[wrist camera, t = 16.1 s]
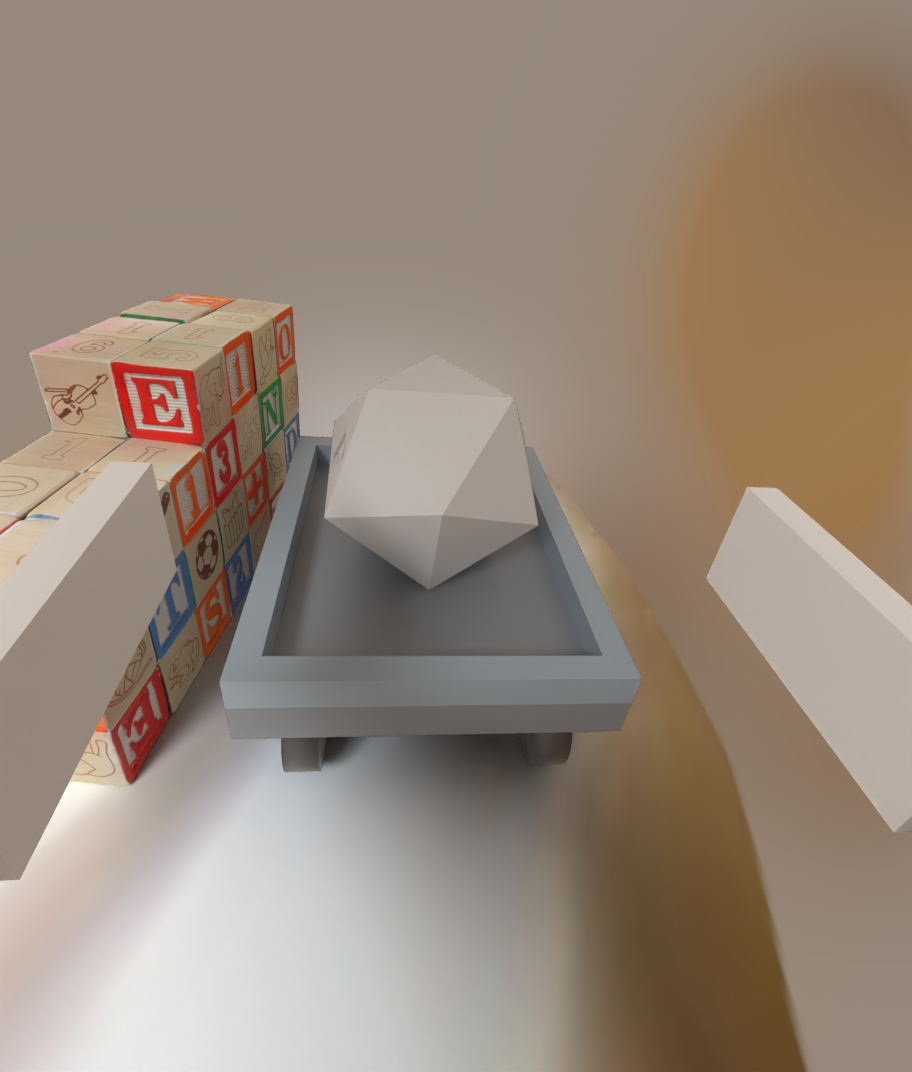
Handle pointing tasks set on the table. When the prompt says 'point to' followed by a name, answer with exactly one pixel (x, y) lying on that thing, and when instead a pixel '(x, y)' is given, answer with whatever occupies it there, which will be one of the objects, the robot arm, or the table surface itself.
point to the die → (431, 471)
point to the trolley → (420, 637)
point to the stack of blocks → (165, 477)
